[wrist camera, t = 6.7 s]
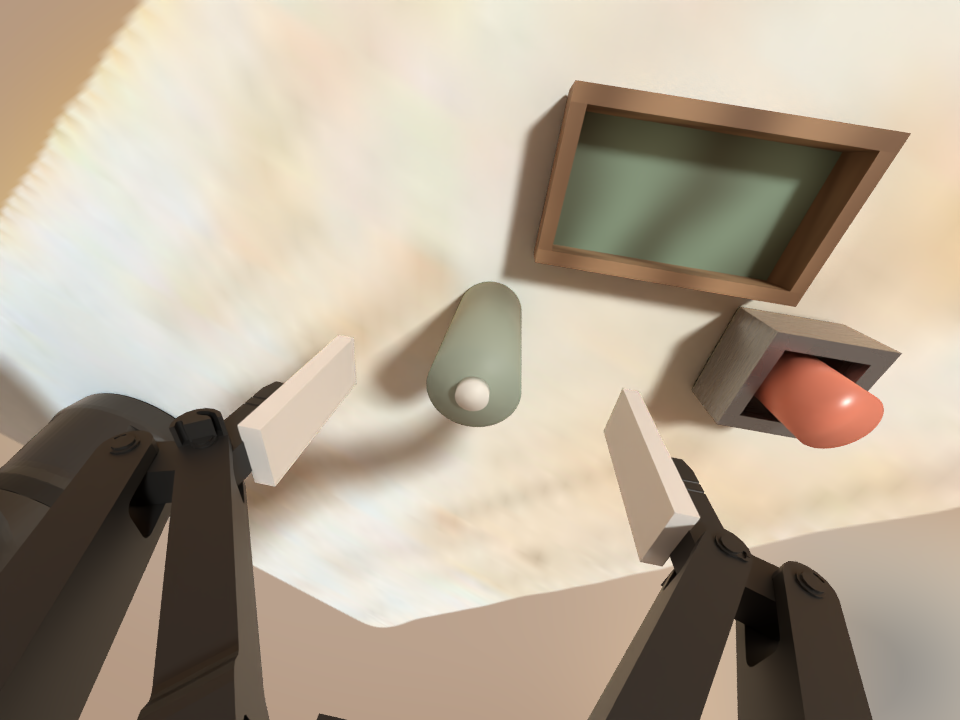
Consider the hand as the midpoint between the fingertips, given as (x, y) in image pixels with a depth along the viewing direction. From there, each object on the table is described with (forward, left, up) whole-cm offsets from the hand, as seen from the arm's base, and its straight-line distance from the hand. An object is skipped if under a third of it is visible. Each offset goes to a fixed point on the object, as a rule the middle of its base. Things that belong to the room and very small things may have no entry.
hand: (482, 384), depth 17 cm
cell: (0, 0, -10) cm, 10 cm away
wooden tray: (+10, +9, -10) cm, 16 cm away
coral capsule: (+20, 0, -9) cm, 21 cm away
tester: (+20, 0, -10) cm, 22 cm away
